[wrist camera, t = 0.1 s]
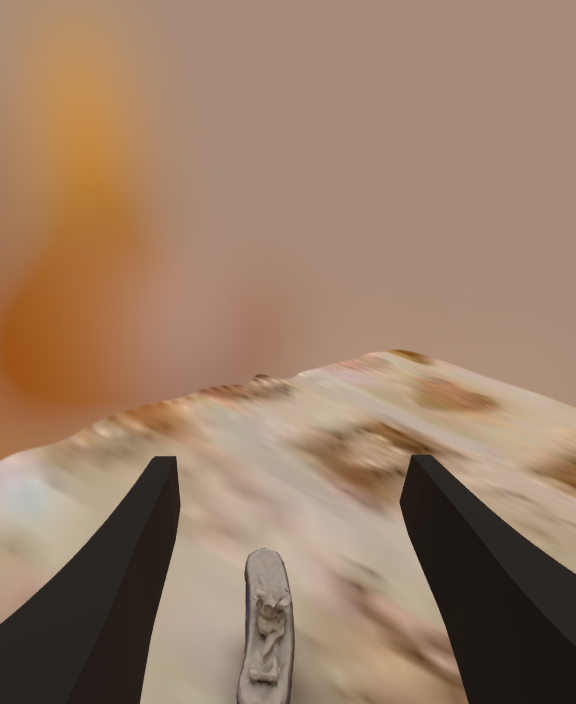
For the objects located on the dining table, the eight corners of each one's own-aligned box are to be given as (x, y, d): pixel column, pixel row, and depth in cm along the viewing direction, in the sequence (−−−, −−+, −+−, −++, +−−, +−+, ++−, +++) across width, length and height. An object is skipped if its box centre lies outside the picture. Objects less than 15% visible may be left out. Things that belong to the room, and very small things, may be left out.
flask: (244, 635, 29) (246, 523, 24) (285, 634, 29) (294, 524, 25) (234, 827, 20) (234, 707, 16) (292, 825, 20) (307, 705, 16)
